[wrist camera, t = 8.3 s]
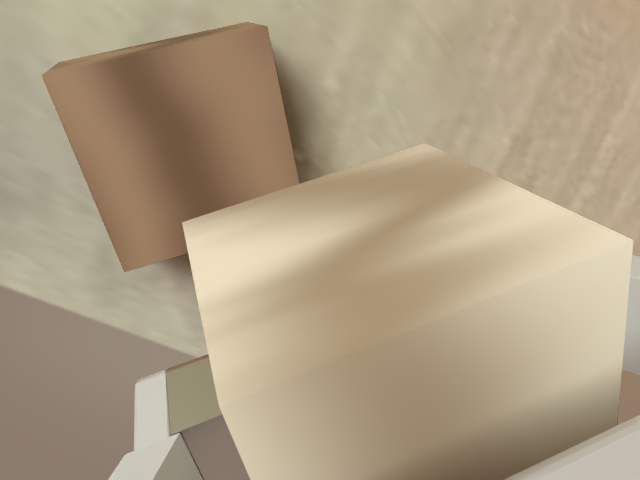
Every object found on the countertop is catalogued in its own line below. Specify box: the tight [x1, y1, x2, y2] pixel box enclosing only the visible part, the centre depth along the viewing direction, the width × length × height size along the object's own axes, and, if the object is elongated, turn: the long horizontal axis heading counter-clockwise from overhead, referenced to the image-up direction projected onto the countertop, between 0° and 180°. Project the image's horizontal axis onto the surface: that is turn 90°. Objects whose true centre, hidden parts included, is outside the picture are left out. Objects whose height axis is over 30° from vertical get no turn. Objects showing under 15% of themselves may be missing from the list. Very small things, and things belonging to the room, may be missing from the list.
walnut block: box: [42, 22, 300, 272], centre depth 25 cm, size 9×9×5 cm
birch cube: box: [182, 143, 633, 480], centre depth 9 cm, size 5×5×5 cm
